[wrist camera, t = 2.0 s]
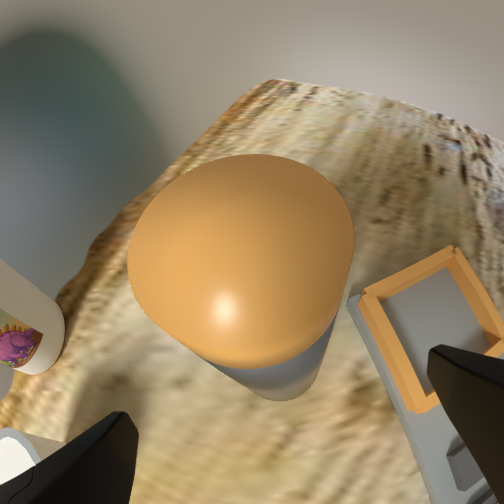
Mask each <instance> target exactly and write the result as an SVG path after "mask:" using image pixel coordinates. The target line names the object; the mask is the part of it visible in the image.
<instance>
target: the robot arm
mask: <svg viewBox="0 0 504 504" xmlns="http://www.w3.org/2000/svg"><path fill="white" fill-rule="evenodd" d="M427 376H428V379H429V381H430V383H431V385H432V386H433V388H434V390H435V392H436V394H437V396H438V398H439V400H440V402H441V404H442V407H443V409H444V411H445V412H446V414H447V416H448V418H449V419H450V421H451V423H452V424H453V426H454V427H455V429H456V430H457V432H458V434H459V435H460V437H461V438H462V440H463V442H464V443H465V445H466V446H467V448H468V450H469V451H470V453H471V455H472V456H473V458H474V460H475V462H476V463H477V465H478V467H479V468H480V470H481V472H482V474H483V475H484V477H485V479H486V481H487V483H488V484H489V486H490V488H491V490H492V492H493V494H494V495H495V497H496V499H497V501H498V503H499V504H504V359H500V358H496V357H492V356H487V355H483V354H479V353H475V352H471V351H467V350H463V349H459V348H455V347H452V346H448V345H444V344H439V345H437V346H435V347H432V348H431V349H430V350H429V352H428V362H427ZM138 439H139V433H138V430H137V428H136V426H135V425H134V423H133V422H132V420H131V418H130V417H129V415H128V414H127V413H126V412H124V411H114V412H112V413H110V414H109V415H108V416H106V417H105V418H103V419H102V420H101V421H99V422H98V423H96V424H95V425H93V426H92V427H91V428H89V429H88V430H86V431H85V432H83V433H82V434H81V435H79V436H78V437H76V438H75V439H73V440H72V441H70V442H69V443H67V444H66V445H64V446H63V447H62V448H60V449H59V450H57V451H56V452H54V453H53V454H51V455H50V456H48V457H46V458H45V459H43V460H42V461H40V462H39V463H37V464H36V465H35V466H32V467H31V468H29V469H28V470H26V471H25V472H23V473H21V474H20V475H18V476H16V477H14V478H12V479H11V480H9V481H7V482H5V483H3V484H1V485H0V504H129V500H130V495H131V491H132V486H133V481H134V475H135V467H136V457H137V448H138Z"/></svg>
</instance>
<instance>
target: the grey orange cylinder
mask: <svg viewBox="0 0 504 504" xmlns="http://www.w3.org/2000/svg"><path fill="white" fill-rule="evenodd" d="M353 251H354V227H353V222H352V218H351V214H350V212H349V210H348V207H347V205H346V203H345V201H344V199H343V198H342V196H341V195H340V193H339V192H338V191H337V189H336V188H335V187H334V186H333V185H332V184H331V183H330V182H329V181H328V180H327V179H326V178H325V177H323V176H322V175H321V174H319V173H318V172H316V171H315V170H313V169H312V168H310V167H308V166H306V165H304V164H302V163H299V162H296V161H294V160H291V159H287V158H283V157H279V156H272V155H261V154H248V155H237V156H230V157H226V158H221V159H218V160H214V161H211V162H208V163H206V164H203V165H201V166H198V167H196V168H194V169H192V170H190V171H188V172H186V173H185V174H183V175H182V176H180V177H178V178H177V179H175V180H174V181H173V182H171V183H170V184H169V185H168V186H166V187H165V188H164V189H163V190H162V191H161V192H160V193H159V194H158V195H157V196H156V197H155V198H154V199H153V200H152V201H151V203H150V204H149V205H148V206H147V208H146V209H145V211H144V212H143V214H142V215H141V217H140V219H139V221H138V223H137V224H136V227H135V229H134V232H133V234H132V237H131V241H130V245H129V251H128V275H129V281H130V285H131V288H132V291H133V294H134V296H135V298H136V300H137V301H138V303H139V305H140V307H141V308H142V309H143V311H144V312H145V313H146V315H147V316H148V317H149V318H150V319H151V320H152V321H153V322H154V323H156V324H157V325H158V326H159V327H160V328H161V329H163V330H164V331H165V332H167V333H168V334H169V335H171V336H172V337H173V338H175V339H176V340H177V341H179V342H180V343H181V344H183V345H184V346H185V347H187V348H188V349H190V350H191V351H192V352H194V353H195V354H197V355H198V356H199V357H201V358H202V359H204V360H205V361H207V362H208V363H209V364H211V365H212V366H214V367H215V368H217V369H218V370H220V371H221V372H223V373H224V374H226V375H227V376H229V377H230V378H232V379H234V380H235V381H237V382H238V383H240V384H241V385H243V386H245V387H246V388H248V389H249V390H251V391H253V392H254V393H256V394H258V395H259V396H261V397H263V398H265V399H268V400H272V401H287V400H291V399H294V398H296V397H299V396H300V395H302V394H303V393H305V392H306V391H307V390H308V389H309V388H310V387H311V385H312V384H313V382H314V381H315V379H316V376H317V373H318V370H319V368H320V365H321V362H322V359H323V356H324V353H325V350H326V347H327V344H328V341H329V338H330V335H331V332H332V328H333V325H334V322H335V319H336V315H337V312H338V308H339V305H340V302H341V298H342V295H343V291H344V287H345V284H346V280H347V276H348V272H349V268H350V265H351V261H352V256H353Z"/></svg>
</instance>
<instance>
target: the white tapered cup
mask: <svg viewBox="0 0 504 504" xmlns="http://www.w3.org/2000/svg"><path fill="white" fill-rule="evenodd" d="M66 444H67V443H64V442H59V441H55V440H51V439H47V438H43V437H39V436H35V435H31V434H28V433H24V432H21V431H18V430H15V429H12V428H8V427H6V428H4V429H1V430H0V485H1V484H3V483H5V482H7V481H9V480H11V479H12V478H14V477H16V476H18V475H20V474H21V473H23V472H25V471H26V470H28V469H29V468H31V467H32V466H35V465H36V464H37V463H39V462H40V461H42V460H43V459H45V458H46V457H48V456H50V455H51V454H53V453H54V452H56V451H57V450H59V449H60V448H62V447H63V446H64V445H66Z"/></svg>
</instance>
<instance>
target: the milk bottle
mask: <svg viewBox="0 0 504 504" xmlns="http://www.w3.org/2000/svg"><path fill="white" fill-rule="evenodd" d="M64 336H65V322H64V317H63V314H62V311H61V309H60V307H59V306H58V304H57V303H56V302H55V301H54V300H53V299H51V298H50V297H49V296H47V295H46V294H45V293H43V292H42V291H41V290H39V289H38V288H37V287H35V286H34V285H32V284H31V283H30V282H28V281H27V280H26V279H25V278H23V277H22V276H21V275H20V274H18V273H17V272H16V271H15V270H13V269H12V268H11V267H10V266H9V265H7V264H6V263H5V262H4V261H2V260H1V259H0V363H2V364H4V365H7V366H9V367H11V368H14V369H16V370H19V371H21V372H24V373H27V374H30V375H37V374H41V373H43V372H45V371H47V370H48V369H49V368H51V367H52V365H53V364H54V363H55V362H56V360H57V358H58V356H59V354H60V352H61V349H62V346H63V342H64Z"/></svg>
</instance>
